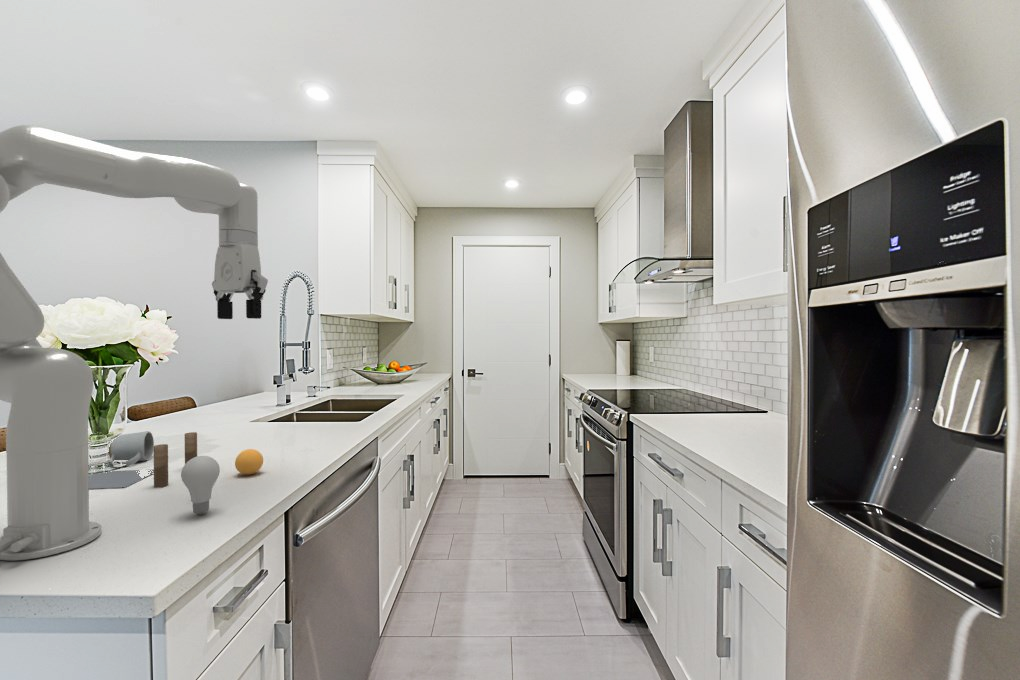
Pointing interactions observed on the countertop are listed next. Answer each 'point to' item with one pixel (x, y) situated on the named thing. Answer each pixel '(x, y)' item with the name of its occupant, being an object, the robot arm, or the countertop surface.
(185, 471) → the lightbulb
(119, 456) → the ceramic mug
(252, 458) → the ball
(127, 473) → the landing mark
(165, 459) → the gate post left
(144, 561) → the countertop surface
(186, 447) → the gate post right
